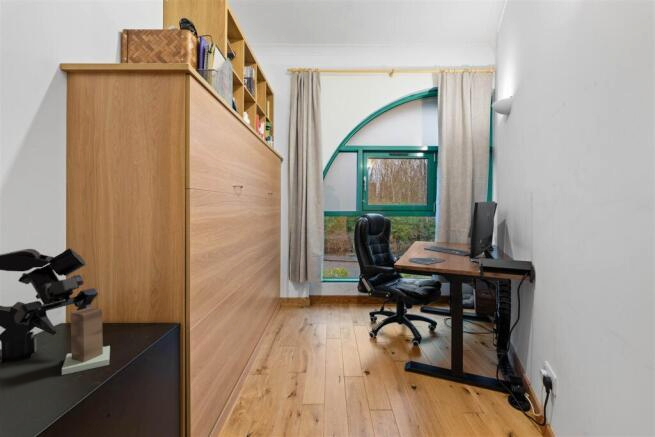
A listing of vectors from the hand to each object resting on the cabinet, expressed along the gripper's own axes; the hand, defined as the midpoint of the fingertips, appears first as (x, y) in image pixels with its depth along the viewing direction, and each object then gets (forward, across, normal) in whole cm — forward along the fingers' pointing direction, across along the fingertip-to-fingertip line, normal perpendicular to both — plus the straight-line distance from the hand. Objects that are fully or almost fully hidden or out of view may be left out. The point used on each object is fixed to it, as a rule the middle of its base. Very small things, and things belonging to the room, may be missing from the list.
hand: (73, 327), depth 89 cm
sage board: (+10, 0, +3) cm, 10 cm away
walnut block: (+9, 0, +2) cm, 9 cm away
